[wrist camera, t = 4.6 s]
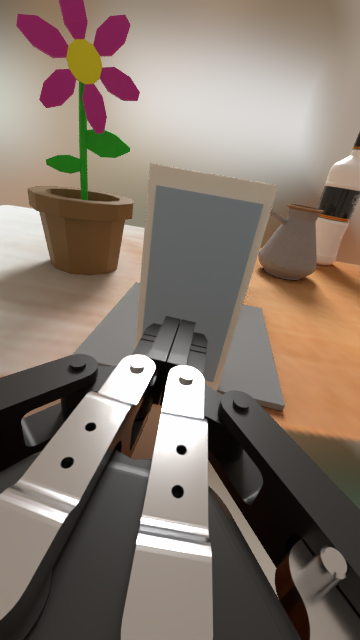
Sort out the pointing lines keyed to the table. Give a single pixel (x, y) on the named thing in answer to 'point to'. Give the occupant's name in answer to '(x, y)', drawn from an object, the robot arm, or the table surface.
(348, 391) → the table surface
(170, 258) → the slate tablet
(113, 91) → the flowerpot
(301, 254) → the coffee pot
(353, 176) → the vodka
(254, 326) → the rubber mat
